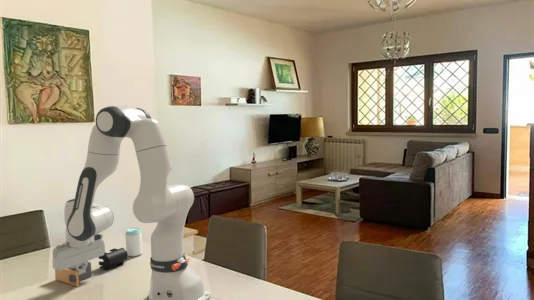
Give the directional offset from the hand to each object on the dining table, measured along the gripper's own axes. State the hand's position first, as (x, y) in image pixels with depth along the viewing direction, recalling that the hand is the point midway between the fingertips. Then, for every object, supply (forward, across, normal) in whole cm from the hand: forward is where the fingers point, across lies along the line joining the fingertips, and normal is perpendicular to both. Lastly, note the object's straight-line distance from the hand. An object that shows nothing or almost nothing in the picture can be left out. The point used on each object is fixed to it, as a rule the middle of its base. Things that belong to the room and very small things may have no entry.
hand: (81, 273), depth 153 cm
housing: (+4, +2, +7) cm, 8 cm away
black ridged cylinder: (+4, +18, +4) cm, 19 cm away
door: (+3, -3, +5) cm, 7 cm away
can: (+4, +32, +7) cm, 33 cm away
